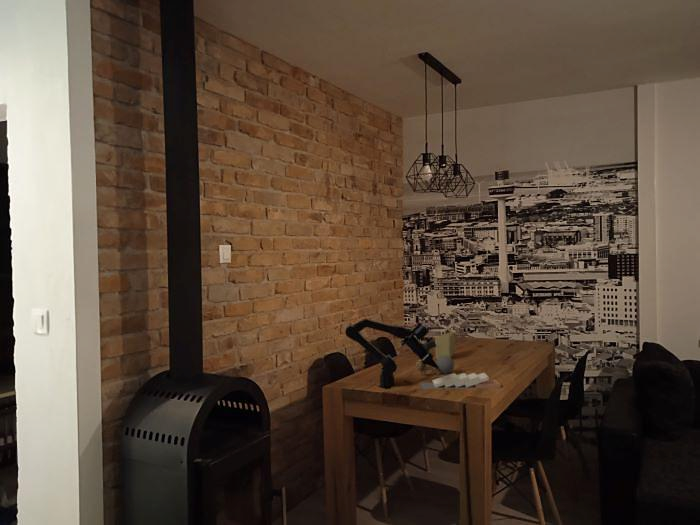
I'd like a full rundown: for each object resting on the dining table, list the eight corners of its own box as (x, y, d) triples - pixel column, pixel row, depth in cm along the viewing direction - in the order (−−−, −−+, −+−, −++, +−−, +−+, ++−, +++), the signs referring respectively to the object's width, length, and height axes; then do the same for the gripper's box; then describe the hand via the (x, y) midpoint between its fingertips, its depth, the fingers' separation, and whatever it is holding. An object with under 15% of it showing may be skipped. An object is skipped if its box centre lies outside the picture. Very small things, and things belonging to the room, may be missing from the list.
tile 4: (465, 384, 281) (488, 376, 280) (461, 380, 290) (484, 372, 290) (466, 387, 281) (489, 379, 280) (462, 383, 290) (485, 375, 290)
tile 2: (444, 384, 281) (467, 376, 280) (441, 380, 290) (464, 372, 290) (445, 387, 281) (468, 379, 280) (443, 383, 290) (465, 375, 290)
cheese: (446, 353, 378) (446, 330, 377) (460, 354, 373) (460, 331, 373) (434, 359, 358) (434, 335, 358) (449, 360, 354) (449, 336, 353)
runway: (422, 389, 279) (422, 388, 279) (419, 383, 292) (419, 382, 292) (488, 389, 279) (488, 388, 279) (482, 383, 292) (482, 382, 292)
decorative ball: (454, 375, 310) (454, 357, 310) (435, 375, 312) (435, 357, 312) (454, 371, 320) (454, 354, 320) (436, 371, 322) (436, 353, 322)
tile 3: (454, 384, 281) (478, 376, 280) (451, 380, 290) (474, 372, 290) (456, 387, 281) (479, 379, 280) (453, 383, 290) (475, 375, 290)
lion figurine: (419, 377, 306) (419, 361, 306) (414, 375, 311) (414, 359, 311) (442, 375, 313) (442, 358, 312) (437, 373, 317) (436, 357, 317)
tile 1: (434, 384, 281) (457, 376, 281) (432, 380, 290) (454, 372, 290) (435, 387, 281) (458, 379, 281) (433, 383, 290) (455, 375, 290)
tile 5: (475, 384, 280) (500, 384, 280) (472, 379, 290) (495, 379, 290) (475, 387, 280) (500, 387, 280) (472, 383, 290) (495, 382, 290)
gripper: (428, 337, 276) (451, 359, 276) (424, 331, 295) (446, 352, 295) (412, 353, 276) (435, 376, 276) (409, 347, 295) (431, 368, 295)
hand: (437, 367), depth 285 cm, fingers closed
